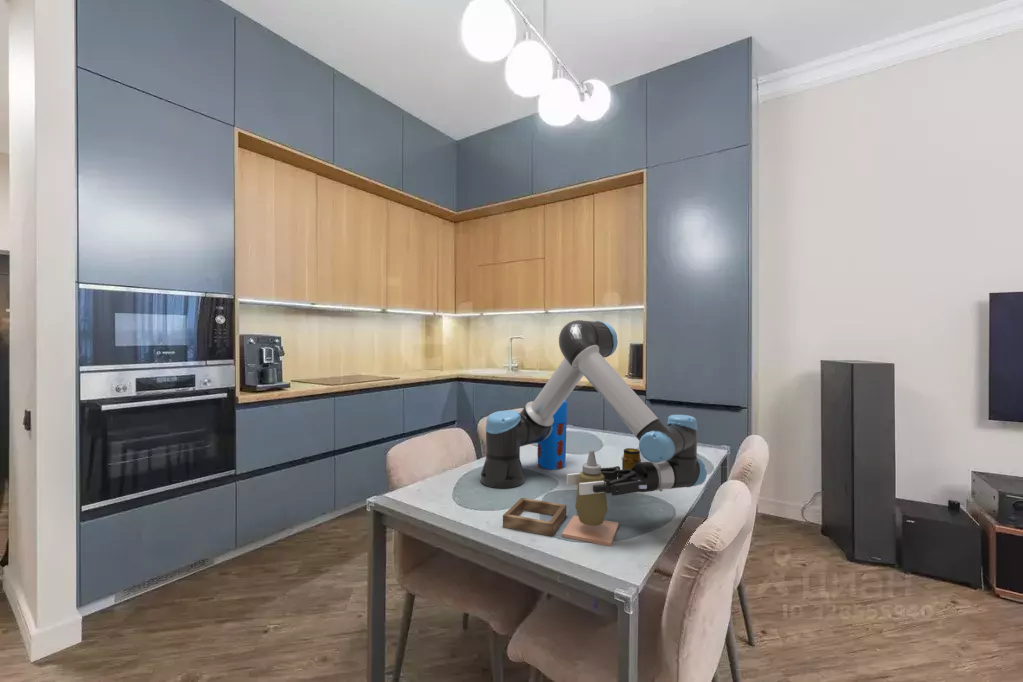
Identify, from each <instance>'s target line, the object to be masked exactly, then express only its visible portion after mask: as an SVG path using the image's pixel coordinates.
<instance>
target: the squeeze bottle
mask: <svg viewBox="0 0 1023 682" xmlns="http://www.w3.org/2000/svg"><path fill="white" fill-rule="evenodd" d="M588 451H589V453H588V457H587V460H586V461H587V462H586V463H583V464H582V470H581V472H579V473H580V474H579V479H578V485H577V489H576V499H575V500H576V501H575V510H576V513H577V516H578V517H579V520H580V522H581V523H583V524H586V525H591V526H596V525H600V524H602V523H603V521H604V520H605V518H606V515H607V512H608V502H607V500H608V499H607V493H606V492H604V493H596V494H587V495H580V494H579V483H586V482H595V481H604V484H605V483H606V482H605V478H604V475H603V474H602V473H601V468H602V467H601V465H600V464H598V463H597V459H596V454H595V450H588Z"/></svg>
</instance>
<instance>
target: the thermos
mask: <svg viewBox="0 0 1023 682" xmlns="http://www.w3.org/2000/svg"><path fill="white" fill-rule="evenodd" d="M567 402H568V401H567V400H565V401H564V402H563V404H562V405H561V406H560V408H559V409H558V410H557V412H556V413H555V414H554V415H553V418H554V422H553V425H552V427H553V429H552V432H551V434H550V436H549V437H548V438H547V439H545V440H543V441H541V442H539V443H537V466H538V467H540V468H541V467H542V469H546V470H560V469H563V468H565V467H566V466H565V465H566V457H567V455H566V453H567V425H568V424H567V414H568V403H567Z"/></svg>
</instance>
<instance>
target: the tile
mask: <svg viewBox="0 0 1023 682" xmlns="http://www.w3.org/2000/svg"><path fill="white" fill-rule="evenodd" d="M619 523H620V522H617V521H609V520H605V519H604V521H603V523H602V524H600V525H596V526H591V525H586V524H583V523H581V522H580V520H579V517H578V515H574V514H573V516H572V518H571V519H570V520H569V522H568V523H567V525H566V527H565V528H564V530H563V531H562V533H561V537H562V538H565V539H572V540H575V541H576V540H577V541H582V542H585V543H586V542H588V543H593V544H598V545H604V546H609V547H612V544H613V541H614V539H615V537H616V535H617V534H616V533H617V531H618V529H619V525H620V524H619Z"/></svg>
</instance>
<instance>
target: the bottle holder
mask: <svg viewBox="0 0 1023 682" xmlns="http://www.w3.org/2000/svg"><path fill="white" fill-rule="evenodd" d="M524 511H527V512H532V513H537V514H543V515H549V516H552V517H551V518H550V520H549V521H547V520H543V519H537V518H531V517H525V516H520V515H521V514H522V512H524ZM566 517H567V504H563V503H556V502H550V501H543V500H538V499H532V498H527V497H526V498H525V497H520V498H519V499H518V500H517V501H516V502H515V503H514V504H513V505H512V506H511V507H510V508H509V509H508V510H507V511H505V513H503V515H502V527H503V528H506V529H507V528H508V529H513V530H516V531H517V530H518V531H521V532H522V531H523V532H528V533H533V534H537V535H543V536H548V537H553V536H554V534H555V533H556V532H557V530H558V528H559V527H560V526H561V524H562V523H563V522H564V520H565V519H566Z"/></svg>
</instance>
